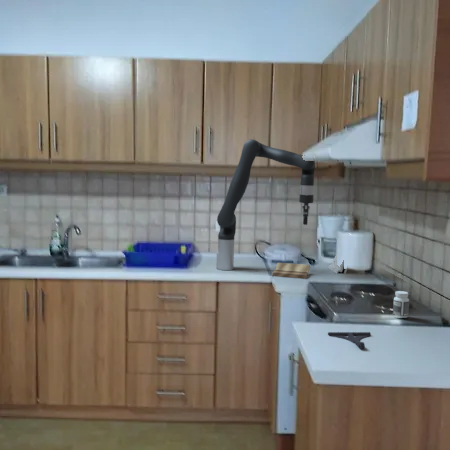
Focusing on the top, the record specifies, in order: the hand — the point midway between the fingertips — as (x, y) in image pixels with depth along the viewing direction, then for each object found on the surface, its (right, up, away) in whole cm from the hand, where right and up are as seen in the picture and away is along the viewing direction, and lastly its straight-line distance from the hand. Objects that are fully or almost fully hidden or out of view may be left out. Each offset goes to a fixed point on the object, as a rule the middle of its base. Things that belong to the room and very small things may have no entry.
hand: (305, 223), depth 264 cm
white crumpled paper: (+22, -27, +18) cm, 40 cm away
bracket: (-1, -40, -104) cm, 112 cm away
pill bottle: (+25, -37, -74) cm, 87 cm away
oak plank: (-6, -26, +6) cm, 27 cm away
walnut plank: (-8, -28, -2) cm, 29 cm away
